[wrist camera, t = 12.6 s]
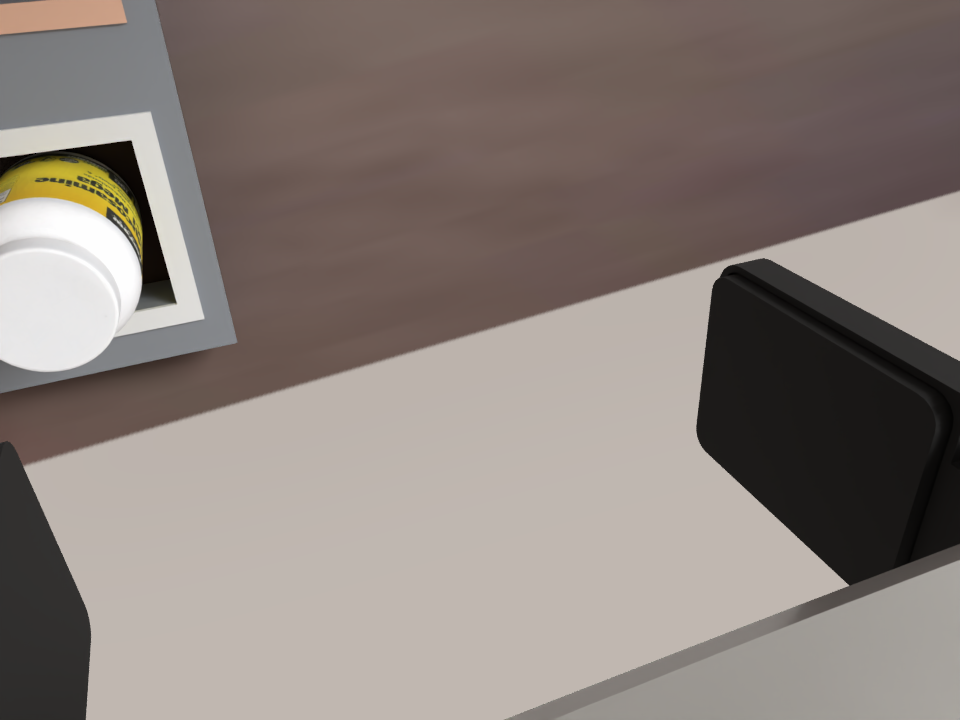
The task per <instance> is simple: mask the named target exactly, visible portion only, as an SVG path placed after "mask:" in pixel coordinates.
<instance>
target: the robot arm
mask: <svg viewBox="0 0 960 720" xmlns="http://www.w3.org/2000/svg"><path fill="white" fill-rule="evenodd" d="M696 427H697V428H696V429H697V430H696V431H697V437H698V440H699V442H700V444H701V446H702V448H703V449H704V450H705V451H706V452H707V453H708V454H709V455H710V456H711V457H712V458H713V459H714V460H715V461H716V462H717V463H718V464H720V465H721V466H722V467H723V468H724V469H725V470H726V471H727V472H728V473H729V474H730V475H731V476H733V478H735V479H736V480H737V481H738V482H739V483H740V484H741V485H742V486H743V487H744V488H745V489H746V490H747V491H749V492H750V493H751V494H752V495H753V496H754V497H755V498H756V499H757V500H758V501H759V502H760V503H761V504H763V505H764V506H765V507H766V508H767V509H768V510H769V511H770V512H771V513H772V514H773V515H774V516H775V517H776V518H778V519H779V520H780V521H781V522H782V523H783V524H784V525H785V526H786V527H787V528H788V529H789V530H791V532H793V533H794V534H795V535H796V536H797V537H798V538H799V539H800V540H801V541H802V542H803V543H804V544H805V545H806V546H808V547H809V548H810V549H811V550H812V551H813V552H814V553H815V554H816V555H817V556H818V557H819V558H820V559H822V560H823V561H824V562H825V563H826V564H827V565H828V566H829V567H830V568H831V569H832V570H834V572H836V573H837V574H838V575H839V576H840V577H841V578H842V579H843V580H844V581H845V582H846V583H847V584H849V586H848V587H845V588H843V589H840V590H838V591H835V592H832V593H830V594H827V595H824V596H822V597H819V598H817V599H814V600H811V601H809V602H806V603H804V604H801V605H798V606H796V607H793V608H791V609H788V610H786V611H783V612H780V613H778V614H775V615H773V616H770V617H767V618H765V619H762V620H759V621H757V622H754V623H752V624H749V625H747V626H744V627H741V628H739V629H736V630H734V631H731V632H729V633H726V634H723V635H721V636H718V637H716V638H713V639H710V640H708V641H706V642H703V643H700V644H697V645H695V646H692V647H690V648H687V649H684V650H682V651H679V652H677V653H674V654H672V655H669V656H667V657H664V658H661V659H659V660H656V661H654V662H651V663H648V664H646V665H643V666H641V667H638V668H636V669H633V670H630V671H628V672H625V673H623V674H620V675H618V676H615V677H612V678H610V679H607V680H605V681H602V682H600V683H597V684H595V685H592V686H589V687H587V688H584V689H582V690H579V691H576V692H574V693H572V694H569V695H566V696H564V697H561V698H559V699H556V700H553V701H551V702H548V703H546V704H543V705H541V706H538V707H536V708H533V709H531V710H528V711H525V712H523V713H520V714H518V715H515V716H513V717H510V718H508V719H505V720H960V361H958V360H956V359H954V358H952V357H951V356H949V355H947V354H945V353H943V352H941V351H939V350H937V349H936V348H934V347H932V346H930V345H928V344H926V343H924V342H922V341H921V340H919V339H917V338H915V337H913V336H911V335H909V334H907V333H906V332H904V331H902V330H900V329H898V328H896V327H894V326H893V325H890V324H889V323H887V322H885V321H883V320H881V319H879V318H878V317H876V316H874V315H872V314H870V313H868V312H866V311H864V310H862V309H861V308H859V307H857V306H855V305H853V304H851V303H849V302H848V301H845V300H844V299H842V298H840V297H838V296H836V295H834V294H833V293H831V292H829V291H827V290H825V289H823V288H821V287H819V286H818V285H816V284H814V283H812V282H810V281H808V280H806V279H804V278H803V277H801V276H799V275H797V274H795V273H793V272H791V271H789V270H787V269H786V268H784V267H782V266H780V265H778V264H776V263H775V262H773V261H771V260H768V259H765V258H763V259H758V260H753V261H748V262H744V263H739V264H735V265H731V266H728V267H727V268H725V269H724V270H723V272H722V274H721V276H720V278H719V279H717V280H716V281H715V283H714V285H713V289H712V296H711V305H710V313H709V322H708V331H707V339H706V348H705V357H704V365H703V374H702V383H701V391H700V400H699V408H698V417H697V426H696ZM90 643H91V629H90V622H89V617H88V613H87V610H86V607H85V604H84V602H83V600H82V598H81V595H80V593H79V591H78V589H77V586H76V584H75V582H74V580H73V578H72V575H71V573H70V571H69V568H68V566H67V564H66V562H65V560H64V557H63V555H62V553H61V551H60V548H59V546H58V544H57V542H56V540H55V537H54V535H53V533H52V531H51V528H50V526H49V524H48V521H47V519H46V517H45V515H44V512H43V510H42V508H41V506H40V503H39V501H38V499H37V497H36V494H35V492H34V490H33V488H32V485H31V483H30V481H29V479H28V477H27V474H26V472H25V470H24V468H23V465H22V463H21V461H20V459H19V456H18V454H17V452H16V450H15V448H14V447H13V445H12V444H11V443H10V442H8V441H6V442H2V443H0V720H86V707H87V692H88V675H89V661H90V645H91V644H90Z"/></svg>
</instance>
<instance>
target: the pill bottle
mask: <svg viewBox="0 0 960 720" xmlns="http://www.w3.org/2000/svg"><path fill="white" fill-rule="evenodd" d="M142 233H143V226H142V217H141V212H140V208H139V205H138V203H137V200H136V198H135V196H134V194H133V192H132V191H131V189H130V188H129V186H128V185H127V184H126V183H125V181H124V180H123V179H122V178H121V177H120V176H119V175H118V174H117V173H115V172H114V171H113V170H112V169H110V168H109V167H107V166H106V165H104V164H103V163H101V162H99V161H97V160H95V159H92V158H90V157H87V156H84V155H81V154H77V153H72V152H63V151H52V152H44V153H38V154H34V155H31V156H29V157H26V158H24V159H22V160H20V161H18V162H17V163H15V164H14V165H12V166H11V167H9V168H8V169H7V170H6V171H5V172H4V173H3V174H2V175H1V176H0V360H2V361H4V362H6V363H8V364H10V365H13V366H16V367H19V368H22V369H26V370H31V371H38V372H56V371H64V370H69V369H73V368H76V367H79V366H82V365H84V364H86V363H88V362H89V361H91V360H93V359H94V358H96V357H97V356H98V355H99V354H101V353H102V352H103V351H104V350H105V349H106V348H107V346H108V345H109V344H110V342H111V341H112V339H113V337H114V335H115V334H116V333H117V332H119V331H120V330H121V329H122V328H123V327H124V326H125V325H126V323H127V322H128V321H129V319H130V318H131V316H132V315H133V313H134V311H135V309H136V307H137V304H138V301H139V298H140V294H141V288H142Z"/></svg>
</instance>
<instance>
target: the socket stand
mask: <svg viewBox="0 0 960 720" xmlns="http://www.w3.org/2000/svg"><path fill="white" fill-rule="evenodd" d="M128 140H132V144H133V147H134V151H135V155H136V158H137V162H138V165H139V169H140V172H141V176H142V180H143V183H144V187H145V190H146V194H147V198H148V201H149V205H150V208H151V212H152V216H153V219H154V223H155V226H156V230H157V233H158V237H159V241H160V244H161V248H162V251H163V255H164V259H165V262H166V266H167V269H168V273H169V277H170V279H169V280H164V281H159V282H153V283H148V284H142V288H141V294H140V298H139V301H138V304H137V307H136V309H135V311H134V313H133V315H132V316H131V318H130V319H129V321H128V322H127V323H126V325H125V326H124V327H123V328H122V329H121V330H120V331H119V332H117V333H116V334H115V335H114V337H113V339H112V341H111V342H110V344H109V345H108V346H107V348H106V349H105V350H104V351H103V352H102V353H101V354H99V355H98V356H97V357H96V358H94V359H93V360H91V361H89V362H88V363H86V364H84V365H82V366H79V367H76V368H73V369H69V370H64V371H56V372H38V371H31V370H26V369H22V368H19V367H16V366H13V365H10V364H8V363H6V362H4V361H2V360H0V393H4V392H8V391H13V390H18V389H22V388H27V387H32V386H36V385H41V384H46V383H51V382H55V381H60V380H65V379H69V378H74V377H79V376H83V375H88V374H93V373H98V372H102V371H107V370H112V369H116V368H121V367H126V366H130V365H135V364H140V363H145V362H149V361H154V360H159V359H163V358H168V357H173V356H177V355H182V354H187V353H192V352H196V351H201V350H206V349H210V348H215V347H220V346H224V345H229V344H234V343H237V339H236V335H235V331H234V326H233V322H232V318H231V314H230V310H229V306H228V301H227V297H226V293H225V289H224V285H223V281H222V277H221V272H220V268H219V264H218V260H217V256H216V252H215V247H214V243H213V239H212V235H211V231H210V227H209V223H208V218H207V214H206V210H205V206H204V202H203V198H202V194H201V189H200V185H199V181H198V177H197V173H196V169H195V165H194V160H193V156H192V152H191V148H190V144H189V140H188V135H187V131H186V127H185V123H184V119H183V115H182V111H181V106H180V102H179V98H178V94H177V90H176V86H175V82H174V77H173V73H172V69H171V65H170V61H169V57H168V53H167V48H166V44H165V40H164V36H163V32H162V28H161V23H160V19H159V15H158V11H157V7H156V3H155V0H0V158H1V157H9V156H16V155H24V154H31V153H39V152H46V151H54V150H61V149H69V148H76V147H84V146H91V145H99V144H106V143H114V142H121V141H128Z"/></svg>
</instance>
